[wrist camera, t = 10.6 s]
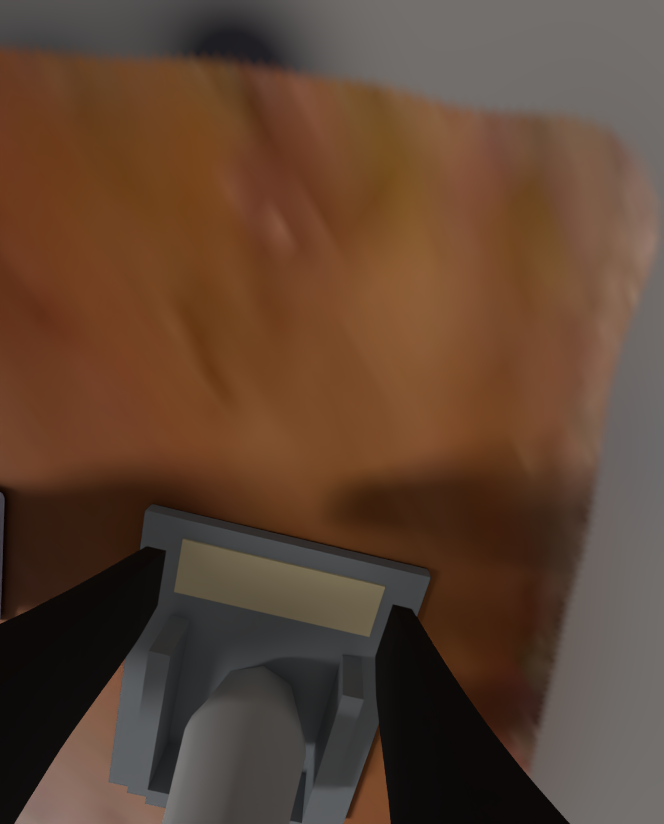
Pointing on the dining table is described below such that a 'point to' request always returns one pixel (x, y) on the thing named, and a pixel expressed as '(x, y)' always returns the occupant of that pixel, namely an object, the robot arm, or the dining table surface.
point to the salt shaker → (240, 754)
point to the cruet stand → (259, 649)
